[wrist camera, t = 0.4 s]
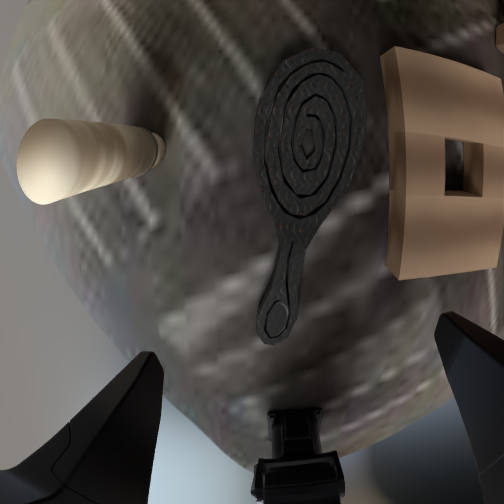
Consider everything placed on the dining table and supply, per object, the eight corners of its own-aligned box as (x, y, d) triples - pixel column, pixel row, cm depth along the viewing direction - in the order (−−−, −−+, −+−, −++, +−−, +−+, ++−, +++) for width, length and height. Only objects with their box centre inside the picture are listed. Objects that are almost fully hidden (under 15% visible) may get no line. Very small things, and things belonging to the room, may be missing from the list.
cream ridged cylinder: (172, 170, 21) (79, 198, 9) (130, 176, 21) (22, 211, 10) (167, 124, 20) (70, 105, 8) (125, 133, 20) (13, 132, 8)
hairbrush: (222, 353, 24) (268, 33, 14) (227, 328, 27) (266, 48, 18) (314, 363, 24) (388, 63, 14) (309, 337, 28) (370, 72, 18)
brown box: (479, 256, 23) (496, 267, 20) (385, 265, 23) (398, 280, 20) (481, 81, 16) (500, 78, 14) (379, 56, 17) (394, 46, 14)
